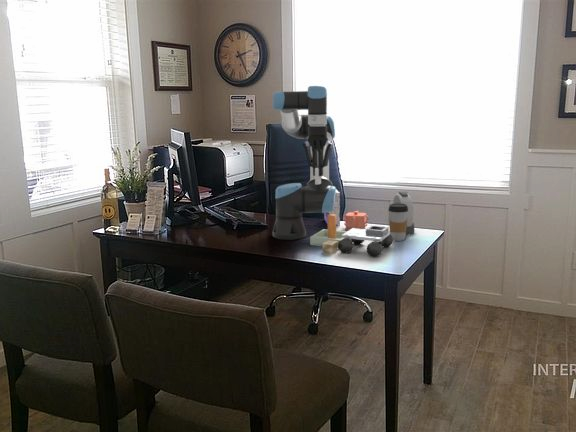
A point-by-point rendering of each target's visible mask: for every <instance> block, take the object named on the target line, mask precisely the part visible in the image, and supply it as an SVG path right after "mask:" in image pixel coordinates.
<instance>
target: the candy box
mask: <svg viewBox="0 0 576 432" xmlns="http://www.w3.org/2000/svg"><path fill="white" fill-rule="evenodd" d="M329 214H335V215H336V227H339V226H340V225H341V224H340V222H341V219H340V218H341V216H340V215H341V192H340V191H338V189H337V188H336V196H335V205H334V210H333V211H332V212H328V213H323V215H324V218H323V219H324V221H325V223H326V224H327V225H328V215H329Z"/></svg>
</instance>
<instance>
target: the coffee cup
mask: <svg viewBox="0 0 576 432" xmlns="http://www.w3.org/2000/svg"><path fill="white" fill-rule="evenodd" d="M407 214H408V207H407V205H406V204H400V203H395V204H393V203H391V204H389V207H388V221H389V223H388V225H389V226H388V227H389V232H390V235H391V236H392V237H393V241H394V240H395V241H396V242H401V241H405V239H406V227H407Z"/></svg>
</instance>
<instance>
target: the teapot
mask: <svg viewBox="0 0 576 432" xmlns="http://www.w3.org/2000/svg"><path fill="white" fill-rule="evenodd" d="M342 219H343V221H344V222H343V223H344V224H343V225H344V226H345V230H348V231H349V230H350V229H352V228H358V229H366V228H367V226H368V223H367V222H368V221H369V215H367V213H366V212H359V210H356V211H353V212H347V213H346V214H344V215H343V216H342Z"/></svg>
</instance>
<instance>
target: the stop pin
mask: <svg viewBox="0 0 576 432" xmlns="http://www.w3.org/2000/svg"><path fill="white" fill-rule="evenodd" d="M327 230H328V238H332V239H336V231H337V226H336V215H335V214H329V215H328V224H327Z"/></svg>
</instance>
